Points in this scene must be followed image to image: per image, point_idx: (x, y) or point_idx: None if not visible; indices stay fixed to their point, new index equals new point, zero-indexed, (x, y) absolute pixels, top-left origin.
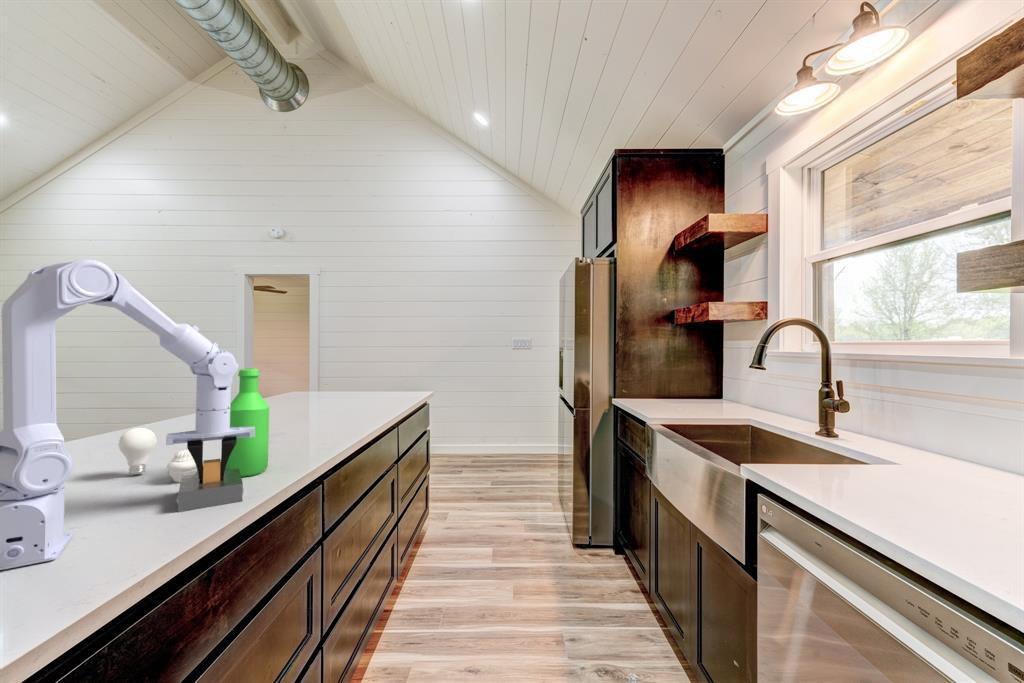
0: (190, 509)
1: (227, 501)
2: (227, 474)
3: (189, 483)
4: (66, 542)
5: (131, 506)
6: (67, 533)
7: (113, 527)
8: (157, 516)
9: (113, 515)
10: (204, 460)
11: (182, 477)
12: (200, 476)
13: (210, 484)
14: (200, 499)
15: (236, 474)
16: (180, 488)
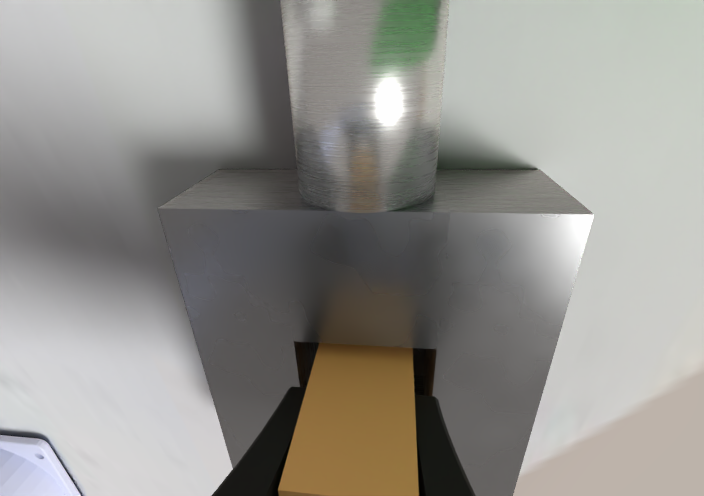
0: None
1: None
2: (465, 340)
3: (254, 398)
4: (69, 486)
5: (65, 264)
6: (31, 447)
7: (121, 432)
8: (213, 417)
9: (57, 335)
10: (285, 494)
11: (175, 254)
12: None
13: None
14: None
15: (520, 371)
16: (231, 448)
